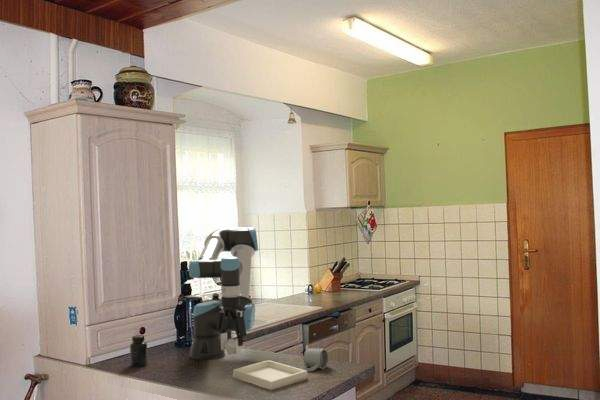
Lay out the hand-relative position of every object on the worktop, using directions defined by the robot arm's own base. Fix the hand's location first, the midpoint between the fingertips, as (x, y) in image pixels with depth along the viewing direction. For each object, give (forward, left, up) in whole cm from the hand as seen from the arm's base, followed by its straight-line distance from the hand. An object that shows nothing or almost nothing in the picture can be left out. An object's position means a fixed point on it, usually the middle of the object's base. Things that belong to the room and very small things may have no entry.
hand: (231, 351), depth 226 cm
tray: (+21, +2, -7) cm, 22 cm away
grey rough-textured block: (0, +1, 0) cm, 1 cm away
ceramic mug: (+25, +22, -7) cm, 34 cm away
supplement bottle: (-33, -23, -7) cm, 41 cm away
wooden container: (-49, +28, -7) cm, 56 cm away
